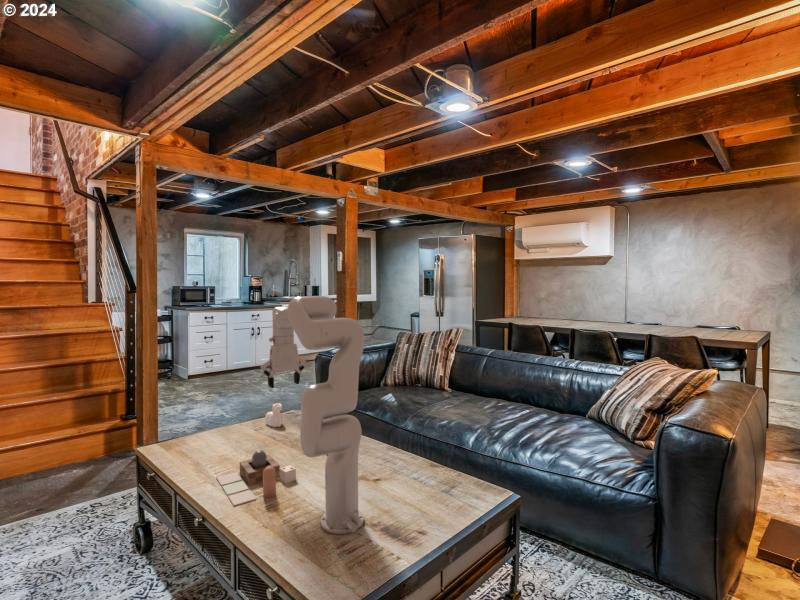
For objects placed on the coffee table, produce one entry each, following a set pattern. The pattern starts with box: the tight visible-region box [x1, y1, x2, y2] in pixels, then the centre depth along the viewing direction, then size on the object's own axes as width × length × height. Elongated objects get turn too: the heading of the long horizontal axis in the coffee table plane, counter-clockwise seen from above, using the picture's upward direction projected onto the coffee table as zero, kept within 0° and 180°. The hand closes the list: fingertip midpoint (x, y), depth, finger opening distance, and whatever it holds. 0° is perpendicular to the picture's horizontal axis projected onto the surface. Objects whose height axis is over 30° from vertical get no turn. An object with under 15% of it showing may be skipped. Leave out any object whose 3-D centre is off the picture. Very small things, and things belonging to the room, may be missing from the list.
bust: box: [264, 402, 285, 428], centre depth 210 cm, size 12×8×11 cm
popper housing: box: [239, 454, 281, 485], centre depth 158 cm, size 11×11×4 cm
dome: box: [251, 449, 268, 469], centre depth 158 cm, size 5×5×6 cm
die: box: [279, 464, 297, 484], centre depth 154 cm, size 4×4×4 cm
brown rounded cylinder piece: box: [262, 466, 277, 499], centre depth 143 cm, size 4×4×10 cm
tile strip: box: [216, 471, 257, 507], centre depth 148 cm, size 23×7×1 cm, turn 36°
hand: (284, 385), depth 162 cm, fingers open, 9 cm apart
